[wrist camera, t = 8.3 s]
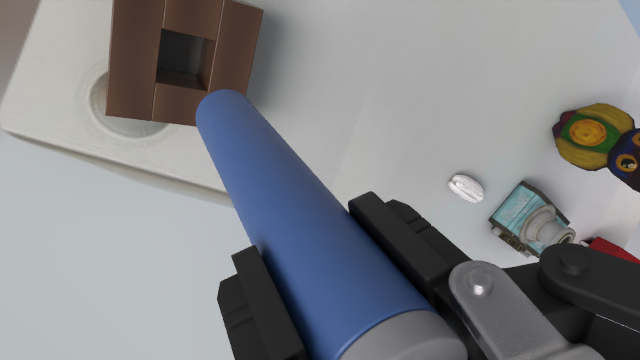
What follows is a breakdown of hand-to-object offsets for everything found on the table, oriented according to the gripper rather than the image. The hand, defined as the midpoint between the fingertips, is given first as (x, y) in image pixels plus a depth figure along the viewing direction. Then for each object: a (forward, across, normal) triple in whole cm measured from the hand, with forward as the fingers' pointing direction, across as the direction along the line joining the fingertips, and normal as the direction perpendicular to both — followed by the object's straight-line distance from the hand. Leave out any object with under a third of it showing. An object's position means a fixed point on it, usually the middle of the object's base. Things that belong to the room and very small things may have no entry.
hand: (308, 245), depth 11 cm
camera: (+29, -45, +46) cm, 71 cm away
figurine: (+29, -52, +29) cm, 67 cm away
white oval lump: (+29, -32, +31) cm, 53 cm away
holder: (+29, 0, 0) cm, 29 cm away
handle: (+11, 0, 0) cm, 11 cm away
